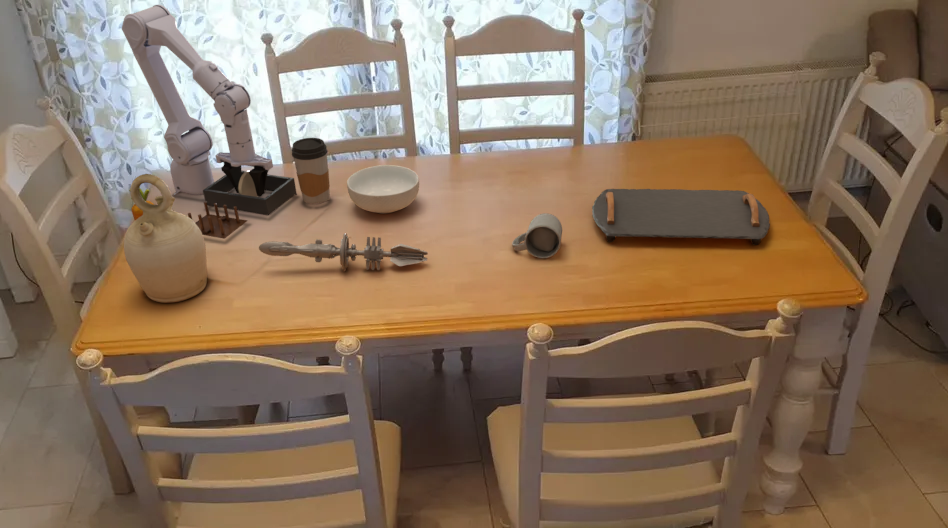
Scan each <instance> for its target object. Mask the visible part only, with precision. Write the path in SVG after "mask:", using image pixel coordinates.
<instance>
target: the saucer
mask: <svg viewBox="0 0 948 528" xmlns="http://www.w3.org/2000/svg"><path fill="white" fill-rule="evenodd" d="M245 171H246V172H244V173H243V174H242V176H241V178H240V181H239V186H238V190H239V193H238V194H241V195H247V196H253V197H258V196H257V193H256V189H255V185H254V182H253V179H252V177H251V176H250V174H249V171H250V170H245Z"/></svg>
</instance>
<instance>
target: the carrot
mask: <svg viewBox="0 0 948 528" xmlns="http://www.w3.org/2000/svg"><path fill="white" fill-rule="evenodd" d="M128 191H129V192H130V189H128ZM140 194H141V196H142V198H143V199H144V200H145V201H146V202H148V203H150V204H152V205H155V204H154V203H153V202H152V201H151V200H148V196H149V194H150V189H148V188H147V189H145V191H144V192H143V190H142V189H141V188H140ZM130 199H131V200H132V198H131V197H130ZM130 208H131V213H132V217H133V220H134V221H135V220H137V219H138V218H139V217H140V216H142V215H143V211H142V210H141V209H140V208H138V207H137V206H136V205H135V203H134V204H133V205H132V207H130Z"/></svg>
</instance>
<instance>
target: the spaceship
mask: <svg viewBox="0 0 948 528" xmlns="http://www.w3.org/2000/svg"><path fill="white" fill-rule="evenodd" d="M258 250H259V251H260V252H261V253H262V254H265V255H267V256H273V257H289V256H291V255H302V256H304V257H308V258H314V261H315V263H321V262H322V261H323V259H332V260H333V259H335V258H336V257H339V263H340V265H341V269H342V271H343V272H345V271H346V270H347V268H348V267H349V266H348V265H349V260H351V262H355V261H356V258H357V256H362V257H363V259H365V260H364V262H365V269H366V270H370V263H371V271H375V266H376V270H377V271H380V270H381V263H382V260H384V258H390V259H389V260H390V261H389V262H390V263H392V264H394V265H396V266H398V267H404V266H409V265H410V266H411V265H414V264H420V263H423V262H426V261H428V257H426V256H427V255H428V251H427V250H423V249H420V248H417V247H415V246H410V245H408V244H403V243H399V244H397V245H394V246H392V247H390V251H386V250H384V248H382V237H377V243H376V237H374V236H373V237H372V241H371V237H370V236H367V237H366V244H365V247H364V248H363V250H362V249H361V250H360V249H357V246H356V244H355V243H352V244H351V246H350V237H348V234H347V233H346V232H345V233H343V235H342V238H341V240H340V247H338V246H336V245H335V244H332V243H329V244H327V243H323V240H322V239H318V238H316V239H315V243H307V244H301V245H294V244H292V243H291V242H288V241H275V240H273V241H265V242H263V243H261V244H260V245H258Z"/></svg>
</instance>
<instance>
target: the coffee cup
mask: <svg viewBox="0 0 948 528" xmlns="http://www.w3.org/2000/svg"><path fill="white" fill-rule="evenodd" d="M327 147H328V146H327V144H326V143H325V141H324V139H322V138H319V137H305V138H301V139H298V140H296V141H294V142H293V143H292V148H291V156H292V158H293V162H294V166H295V172H296V176H297V180H298V185H299V189H300V192H301V196H302V200H303V201H304V203H306V204H309V205H310V204H311V205H318V204H323V203H325V202H327V201H330V200H331V190H330V170H329V163H328V161H329V160H328V152H329V151H328V149H327Z"/></svg>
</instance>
